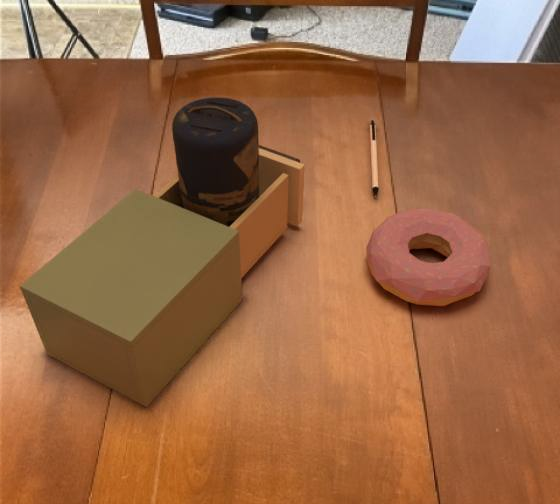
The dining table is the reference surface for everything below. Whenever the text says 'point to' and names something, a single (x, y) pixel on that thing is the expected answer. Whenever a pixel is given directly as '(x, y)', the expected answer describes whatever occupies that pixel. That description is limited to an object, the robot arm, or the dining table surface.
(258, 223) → the drawer
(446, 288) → the donut
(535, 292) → the dining table surface
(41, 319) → the cabinet
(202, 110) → the canister
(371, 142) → the pen
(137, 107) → the dining table surface
